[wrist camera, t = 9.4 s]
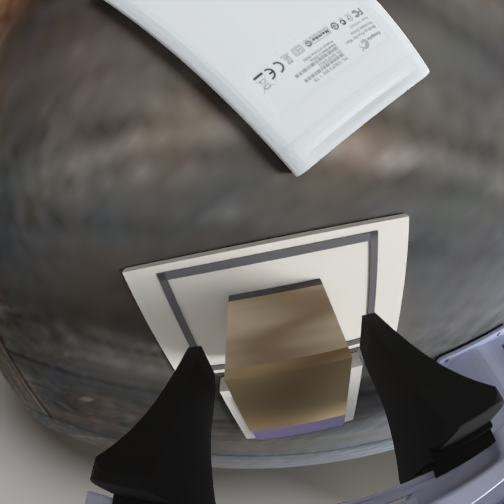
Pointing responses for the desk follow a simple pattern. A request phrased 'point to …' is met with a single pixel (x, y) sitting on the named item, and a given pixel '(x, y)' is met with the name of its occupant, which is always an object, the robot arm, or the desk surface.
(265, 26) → the external hard drive
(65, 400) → the desk surface
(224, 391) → the ink pad
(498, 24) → the desk surface
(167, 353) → the print card
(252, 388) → the stamp
